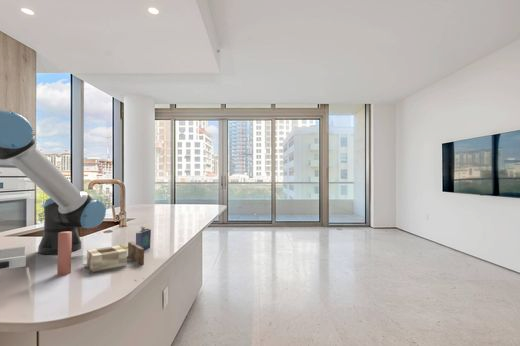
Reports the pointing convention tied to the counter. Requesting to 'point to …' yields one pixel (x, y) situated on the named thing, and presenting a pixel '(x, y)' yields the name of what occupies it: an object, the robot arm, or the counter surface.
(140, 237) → the flask
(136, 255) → the grey fixture base
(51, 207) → the robot arm
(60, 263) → the dowel
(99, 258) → the socket block
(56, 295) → the counter surface
